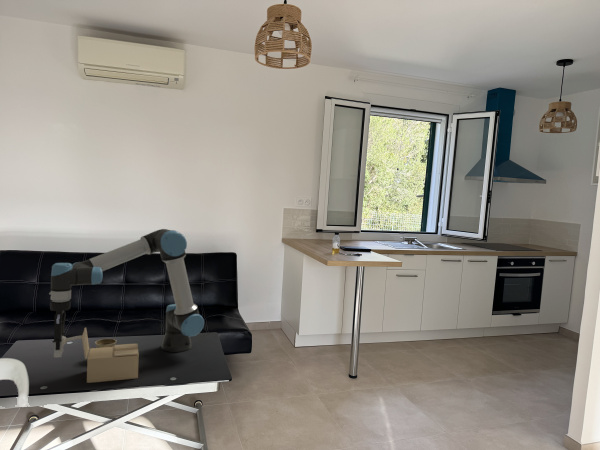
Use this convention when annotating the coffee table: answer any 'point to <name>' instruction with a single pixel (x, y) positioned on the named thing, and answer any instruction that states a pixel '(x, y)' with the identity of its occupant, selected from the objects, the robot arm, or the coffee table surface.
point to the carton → (113, 363)
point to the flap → (84, 340)
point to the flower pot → (105, 343)
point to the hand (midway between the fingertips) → (58, 355)
